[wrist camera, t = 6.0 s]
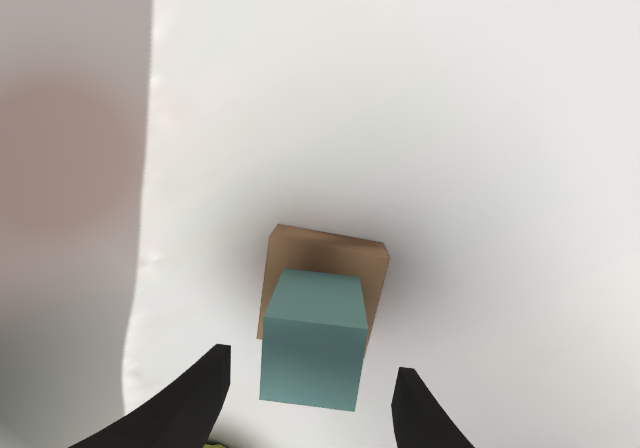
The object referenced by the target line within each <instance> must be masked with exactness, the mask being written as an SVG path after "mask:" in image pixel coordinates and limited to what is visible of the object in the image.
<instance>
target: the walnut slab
mask: <svg viewBox="0 0 640 448" xmlns="http://www.w3.org/2000/svg"><path fill="white" fill-rule="evenodd" d="M389 259H390V258H389V255H388V253H387V251H386V248H385V246H384V244H383V243H381V242H376V241H370V240H364V239H359V238H353V237H348V236H342V235H336V234H331V233H325V232H319V231H314V230H308V229H303V228H297V227H291V226H286V225H280V224H278V225H277V226H276V228H275V229H274V231H273V232H272V233H271V235H270V236H269V243H268V251H267V259H266V267H265V275H264V283H263V291H262V299H261V307H260V315H259V323H258V331H257V339H263V320H264V315H265V312H266V310H267V307H268V305H269V303H270V300H271V298H272V295H273V293H274V291H275V288H276V286H277V283H278V281H279V279H280V276H281V274H282V271H283V269H284V268H286V269H295V270H303V271H312V272H321V273H329V274H338V275H347V276H356V277H360V281H361V287H362V293H363V300H364V306H365V312H366V318H367V325H368V334H367V340H366V346H365V352H364V357H365V353H366V349H367V345H368V341H369V337H370V333H371V329H372V326H373V322H374V318H375V314H376V310H377V306H378V302H379V298H380V294H381V290H382V286H383V282H384V279H385V275H386V271H387V267H388V263H389Z"/></svg>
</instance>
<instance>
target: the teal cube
mask: <svg viewBox="0 0 640 448" xmlns="http://www.w3.org/2000/svg"><path fill="white" fill-rule="evenodd" d="M367 334H368V325H367V318H366V312H365V306H364V300H363V293H362V287H361V281H360V277H356V276H347V275H338V274H329V273H321V272H312V271H303V270H295V269H286V268H284V269H283V271H282V274H281V276H280V279H279V281H278V283H277V286H276V288H275V291H274V293H273V295H272V298H271V300H270V303H269V305H268V307H267V310H266V312H265V315H264V320H263V339H262V359H261V378H260V398H259V400H266V401H274V402H282V403H290V404H298V405H306V406H314V407H322V408H329V409H337V410H345V411H353V412H355V406H356V400H357V394H358V388H359V382H360V376H361V370H362V364H363V358H364V352H365V346H366V340H367Z"/></svg>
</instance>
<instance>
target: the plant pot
mask: <svg viewBox="0 0 640 448" xmlns="http://www.w3.org/2000/svg"><path fill="white" fill-rule="evenodd" d="M203 448H226V447H225V446H223V445H220V444H217V445H208V444H205V445H204V447H203Z"/></svg>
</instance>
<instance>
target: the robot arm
mask: <svg viewBox="0 0 640 448" xmlns="http://www.w3.org/2000/svg"><path fill="white" fill-rule="evenodd" d="M230 366H231V346H230V345H222V344H216V345H215V346H213V347H212V348H211V349H210V350H209V351H208V352H207V353H206V354H205V355H203V356H202V357H201V358H200V359H199V360H198V361H197V362H196V363H195V364H193V365H192V366H191V367H190V368H189V369H188V370H186V371H185V372H184V373H183V374H182V375H181V376H179V377H178V378H177V379H176V380H174V381H173V382H172V383H171V384H169V385H168V386H167V387H166V388H164V389H163V390H162V391H160V392H159V393H158V394H156V395H155V396H154V397H152V398H151V399H150V400H148V401H147V402H145V403H144V404H143V405H141V406H140V407H138V408H137V409H135V410H134V411H132V412H131V413H129V414H128V415H126V416H124V417H123V418H121V419H119V420H118V421H116V422H114V423H113V424H111V425H109V426H107V427H106V428H104V429H102V430H101V431H99V432H97V433H96V434H93V435H92V436H90V437H88V438H86V439H84V440H82V441H80V442H78V443H76V444H74V445H73V446H70V447H68V448H203V447H204V445H205V443H206V441H207V439H208V437H209V435H210V432H211V430H212V428H213V426H214V424H215V422H216V420H217V418H218V416H219V413H220V411H221V409H222V406H223V403H224V401H225V398H226V395H227V392H228V389H229V386H230ZM391 408H392V417H393V426H394V433H395V438H396V442H397V447H398V448H475V447H474V446H473V445H472V444H471V443H470V442H469V441H468V440H467V438H466V437H465V436H464V435H463V434H462V432H461V431H460V430H459V429H458V428H457V426H456V425H455V424H454V423H453V421H452V420H451V419H450V418H449V416H448V415H447V414H446V412H445V411H444V410H443V408H442V407H441V406H440V405H439V403H438V402H437V400H436V399H435V398H434V396H433V395H432V394H431V392H430V391H429V389H428V388H427V386H426V385H425V384H424V382H423V381H422V379H421V378H420V376H419V375H418V374H417V372H416V371H415V369H412V368H404V367H399V371H398V376H397V380H396V385H395V390H394V394H393V399H392V404H391Z"/></svg>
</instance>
